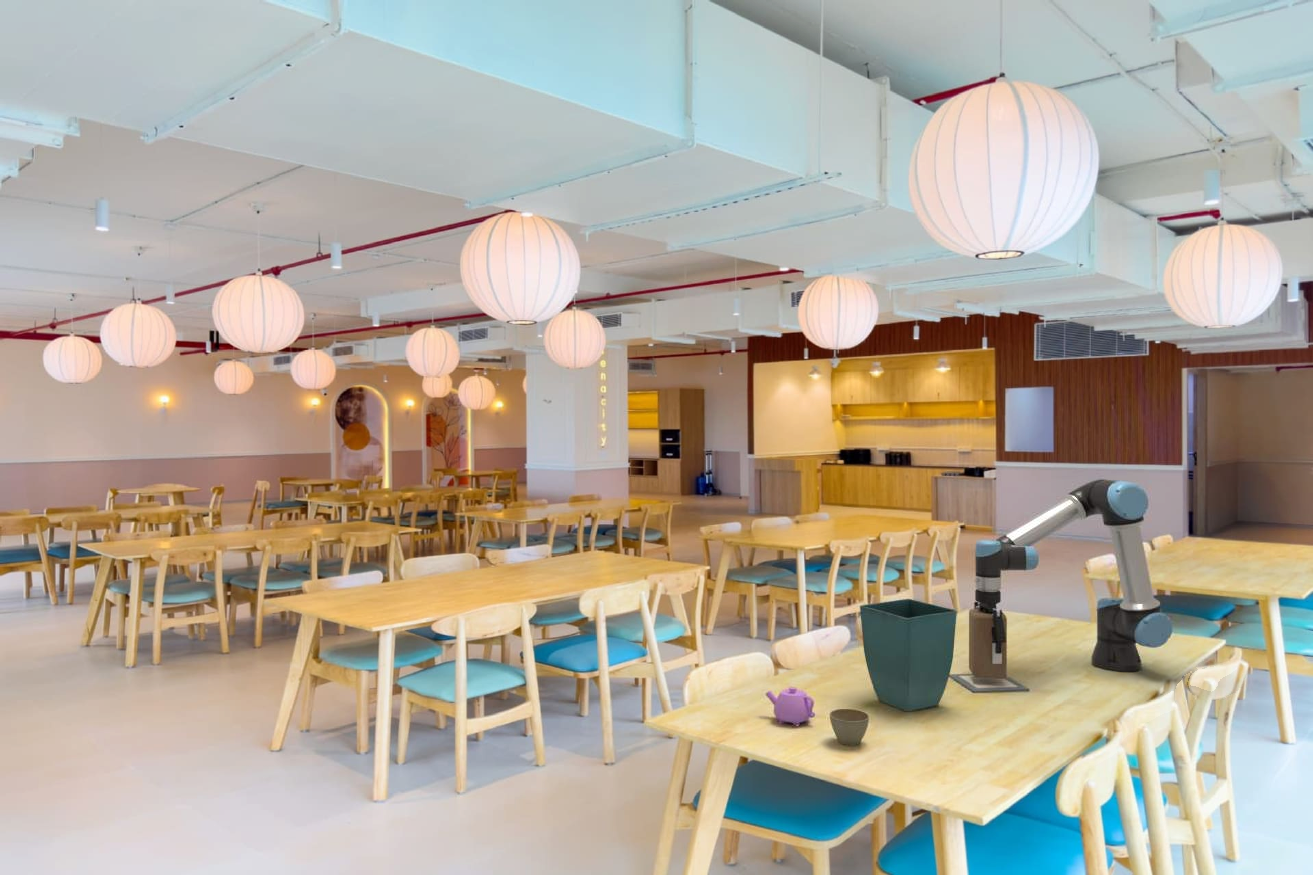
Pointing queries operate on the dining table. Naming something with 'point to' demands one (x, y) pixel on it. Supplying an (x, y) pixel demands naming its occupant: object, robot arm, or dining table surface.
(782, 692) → the teapot
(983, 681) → the mat
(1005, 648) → the wooden block
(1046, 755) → the dining table surface
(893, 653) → the flower pot
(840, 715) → the bowl
